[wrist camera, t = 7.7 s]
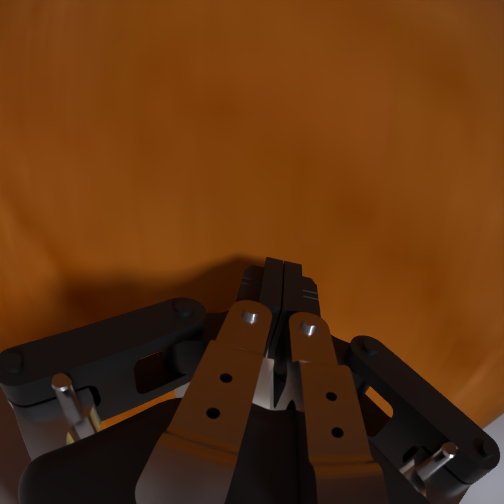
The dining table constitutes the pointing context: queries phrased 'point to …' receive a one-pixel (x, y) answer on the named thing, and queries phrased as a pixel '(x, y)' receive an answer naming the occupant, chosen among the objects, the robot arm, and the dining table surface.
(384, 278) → the dining table surface
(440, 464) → the robot arm
